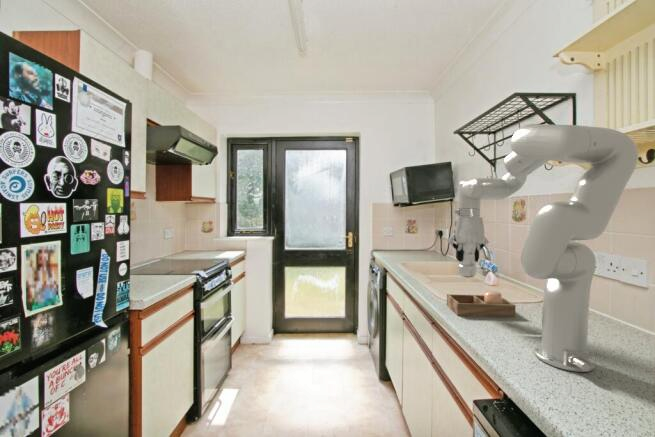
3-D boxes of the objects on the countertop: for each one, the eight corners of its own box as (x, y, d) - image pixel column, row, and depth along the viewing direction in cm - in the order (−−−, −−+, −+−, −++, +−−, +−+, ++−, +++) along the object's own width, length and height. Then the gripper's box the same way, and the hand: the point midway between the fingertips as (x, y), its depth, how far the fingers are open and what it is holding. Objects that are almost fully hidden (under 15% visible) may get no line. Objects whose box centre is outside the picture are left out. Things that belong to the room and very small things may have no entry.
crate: (515, 318, 109) (515, 305, 109) (457, 317, 110) (457, 303, 110) (498, 308, 121) (499, 295, 121) (446, 306, 122) (447, 294, 122)
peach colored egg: (503, 314, 112) (504, 295, 112) (488, 313, 113) (488, 295, 112) (496, 308, 118) (496, 291, 118) (481, 308, 118) (481, 290, 118)
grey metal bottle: (467, 274, 119) (469, 224, 118) (480, 278, 113) (482, 225, 112) (453, 275, 118) (455, 224, 117) (465, 279, 111) (467, 225, 110)
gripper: (449, 213, 111) (447, 262, 112) (497, 213, 110) (495, 263, 111) (442, 212, 118) (441, 258, 119) (487, 213, 117) (485, 259, 118)
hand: (467, 260), depth 115 cm, fingers closed on grey metal bottle, 5 cm apart
